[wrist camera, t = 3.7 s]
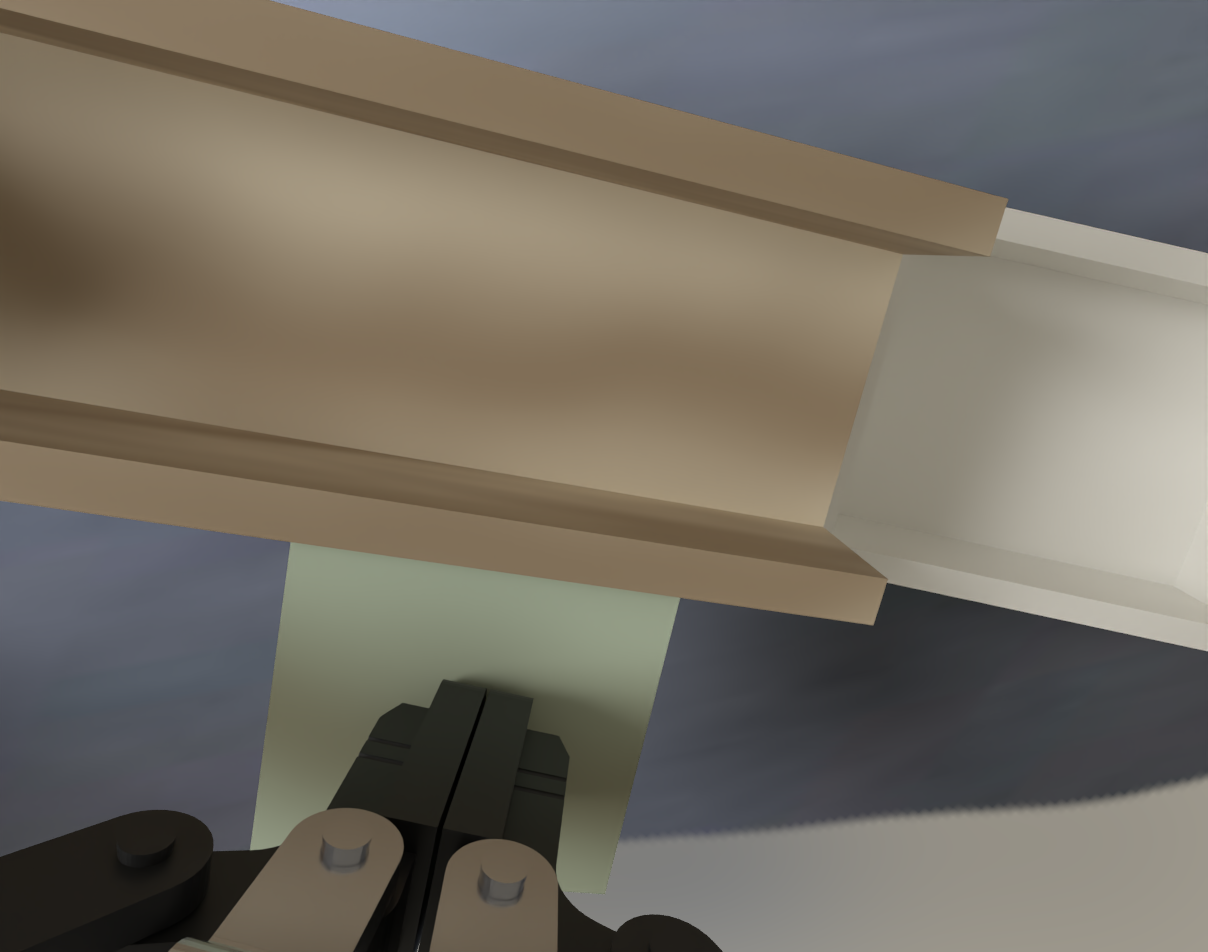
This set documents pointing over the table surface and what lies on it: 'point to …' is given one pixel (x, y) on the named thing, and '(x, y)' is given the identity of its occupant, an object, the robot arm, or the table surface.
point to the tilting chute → (439, 358)
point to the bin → (1041, 431)
